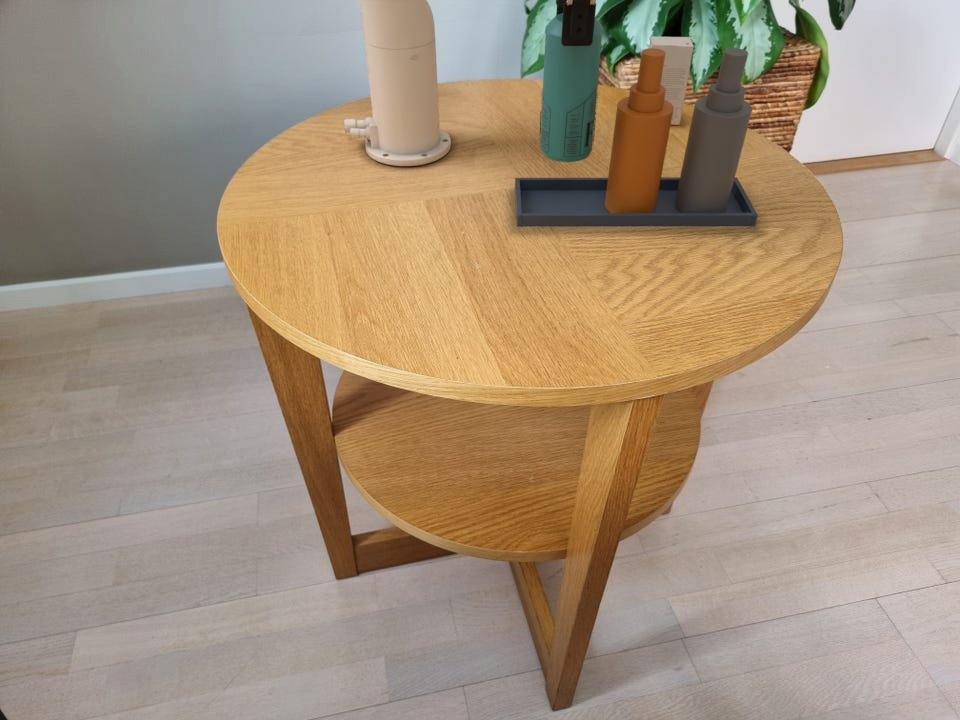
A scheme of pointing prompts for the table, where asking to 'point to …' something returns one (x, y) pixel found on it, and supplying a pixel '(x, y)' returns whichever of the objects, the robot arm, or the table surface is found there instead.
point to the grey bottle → (715, 140)
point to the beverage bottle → (569, 94)
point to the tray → (587, 208)
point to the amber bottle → (640, 140)
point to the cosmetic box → (675, 70)
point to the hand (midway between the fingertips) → (573, 32)
